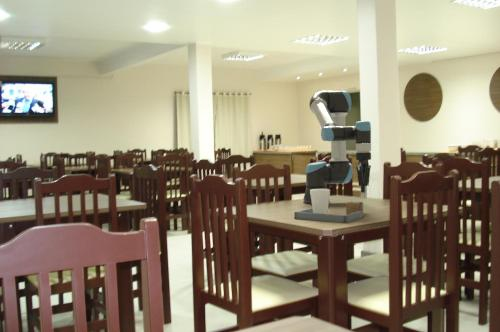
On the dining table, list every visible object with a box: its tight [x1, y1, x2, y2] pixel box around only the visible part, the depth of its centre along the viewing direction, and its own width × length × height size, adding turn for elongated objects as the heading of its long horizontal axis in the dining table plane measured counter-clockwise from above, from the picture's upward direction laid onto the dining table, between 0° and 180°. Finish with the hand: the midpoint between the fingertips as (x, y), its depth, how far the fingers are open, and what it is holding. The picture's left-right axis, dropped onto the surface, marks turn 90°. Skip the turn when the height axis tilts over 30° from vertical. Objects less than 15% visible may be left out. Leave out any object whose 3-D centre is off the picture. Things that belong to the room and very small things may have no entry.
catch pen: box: [293, 207, 364, 224], centre depth 255 cm, size 19×26×3 cm
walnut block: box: [345, 201, 364, 215], centre depth 264 cm, size 6×6×6 cm
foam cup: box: [310, 188, 331, 214], centre depth 258 cm, size 10×9×13 cm
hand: (364, 198), depth 272 cm, fingers closed
